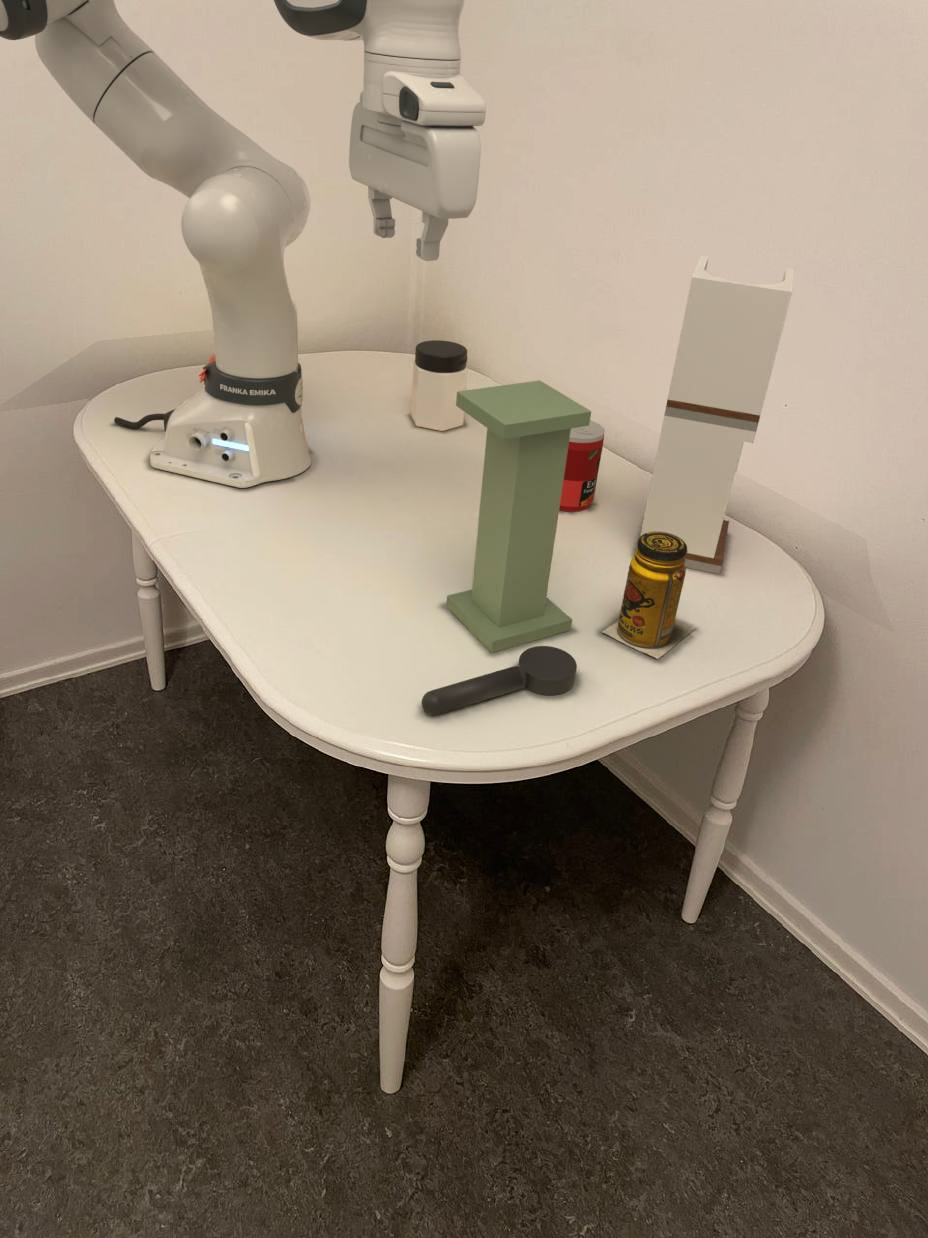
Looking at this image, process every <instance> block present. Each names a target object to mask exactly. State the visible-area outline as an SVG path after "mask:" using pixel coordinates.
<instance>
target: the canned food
mask: <svg viewBox="0 0 928 1238" xmlns="http://www.w3.org/2000/svg"><path fill="white" fill-rule="evenodd" d="M605 432H606V431H605V428H604V427H603V426H602V425H601V424H600V423H598V422H597V421H595V420H592V419H590V424H589V426H583V427H577V428H571V432H570V439H569V446H568V452H567V459H566V466H565V473H564V480H563V487H562V494H561V500H560V507H559V511H561V512H569V513H571V512H573V513H574V512H581V511H584V510H587V509H589V508H590V507H591V505H592V503H593V501H594V499H595V494H596V487H597V482H598V476H599V471H600V463H601V459H602V453H603V449H604V439H605Z"/></svg>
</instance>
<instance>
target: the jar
mask: <svg viewBox="0 0 928 1238" xmlns="http://www.w3.org/2000/svg"><path fill="white" fill-rule="evenodd" d="M414 354H415V355H414V360H413V363H412V364H413V367H412V383H411V384H412V388H411V404H410V405H411V407H410V408H411V409H410V416H411V419H412V420H413V422H414V425H415V427H418V428H424V429H428V430H434V431H438V432H445V431H448V430H451V429H456V428H459V427H463V426H464V421H465V412H464V411H463V410H461V409H460V408H459V407H457V406H456V398H457V391H465V390H467V385H468V383H467V382H468V373H469V370H468V368H467V363H468V349H467V348H466V346H464V345H462V344H460V343H458V342H453V341H448V340H439V339H436V340H435V339H433V340H425V341H422V342H419V343H417V344H416V345H415V353H414Z"/></svg>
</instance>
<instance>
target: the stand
mask: <svg viewBox="0 0 928 1238" xmlns="http://www.w3.org/2000/svg"><path fill="white" fill-rule="evenodd" d="M456 406H457V407H459V408H460V409H461V410H463V411H464V413H465V414H467V415H468V416H470V417H471V418H473V419H474V420H475V421H476V422H478V423H479V424H481V425H482V426H484V427H485V428H486V438H485V448H484V460H483V470H482V471H483V472H482V478H481V479H482V480H481V481H482V482H481V489H480V491H481V492H480V500H479V501H480V502H479V512H478V523H477V534H476V543H475V554H474V564H473V576H472V586H471V589H468V590H464V591H460V592H456V593H452V594H448V595H447V596H446V601H445V602H446V604H445V607H446V608H447V609H448V610H449V611H450V613H452V614H453V615H454V616H455V617H456V618H457V619H458V620H459V621H460V622H461V623H462V624H463V625H464V627H466V629H467V630H469V631H470V633H471V634H472V635H473V636H474V637H475V638H476V639H477V640H478V641H479V642H480V643H481V644H482V645H483V646H484V648H486V649H487V650H488V651H489V652H490V653H491V654H492V653H496V652H499V651H503V650H507V649H510V648H513V647H518V646H520V645H521V646H522V645H524V644H527V643H531V642H534V641H539V640H542V639H545V638H549V637H552V636H556V635H559V634H563V633H566V632H567V633H568V632H570V631H571V630H572V629H571V628H572V622H573V619H572V617H570V616H568V615H567V613H566V612H564V611H563V610H562V609H561V608H560V607H559V606H557V605H556V604H555V603H554V602H553V601H552V600H551V599H549V598H548V597H547V595H548V589H549V583H550V575H551V568H552V561H553V555H554V549H555V540H556V533H557V527H558V520H559V515H560V510H559V507H560V500H561V494H562V487H563V480H564V473H565V466H566V459H567V452H568V446H569V439H570V432H571V428H577V427H583V426H589V424H590V420H591V416H592V410H590V409H589V408H587V407H585V406H584V405H582V404H580V403H578V402H577V401H575V400H574V399H572V398H570V397H569V396H567V395H565V394H563V393H562V392H560V391H559V390H557V389H555V388H553V387H552V386H550V385H548V383H545V382H544V381H542V380H531V381H526V382H525V381H524V382H517V383H510V384H503V385H502V384H501V385H496V386H488V387H482V388H481V387H480V388H474V389H466V390H465V391H457V398H456Z"/></svg>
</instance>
